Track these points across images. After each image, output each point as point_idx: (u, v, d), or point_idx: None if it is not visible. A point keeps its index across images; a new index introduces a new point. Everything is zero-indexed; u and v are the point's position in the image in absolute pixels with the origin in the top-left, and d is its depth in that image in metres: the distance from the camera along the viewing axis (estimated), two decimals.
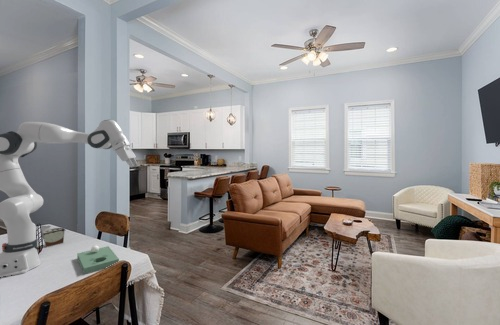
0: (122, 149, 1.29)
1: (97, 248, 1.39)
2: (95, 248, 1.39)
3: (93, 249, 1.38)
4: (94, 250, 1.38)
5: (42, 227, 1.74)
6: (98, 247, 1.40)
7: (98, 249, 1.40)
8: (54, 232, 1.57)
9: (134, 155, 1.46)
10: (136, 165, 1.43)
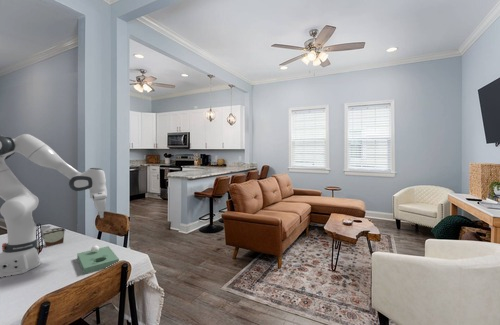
0: (103, 201, 1.38)
1: (97, 248, 1.39)
2: (95, 248, 1.39)
3: (93, 249, 1.38)
4: (94, 250, 1.38)
5: (42, 227, 1.74)
6: (98, 247, 1.40)
7: (98, 249, 1.40)
8: (54, 232, 1.57)
9: None
10: None
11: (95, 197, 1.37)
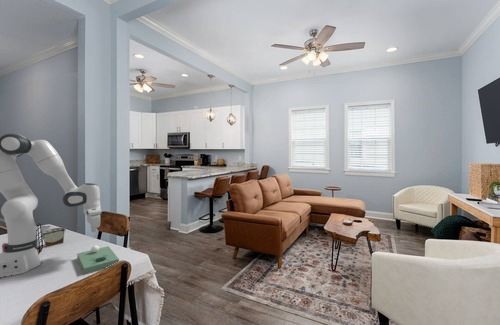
0: (98, 217, 1.39)
1: (97, 248, 1.39)
2: (95, 248, 1.39)
3: (93, 249, 1.38)
4: (94, 250, 1.38)
5: (42, 227, 1.74)
6: (98, 247, 1.40)
7: (98, 249, 1.40)
8: (54, 232, 1.57)
9: None
10: None
11: (90, 213, 1.37)
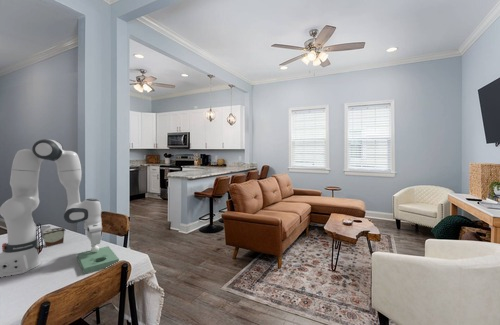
0: (99, 234, 1.38)
1: (97, 248, 1.39)
2: (95, 248, 1.39)
3: (93, 249, 1.38)
4: (94, 250, 1.38)
5: (42, 227, 1.74)
6: (98, 247, 1.40)
7: (98, 249, 1.40)
8: (54, 232, 1.57)
9: None
10: None
11: (90, 230, 1.36)
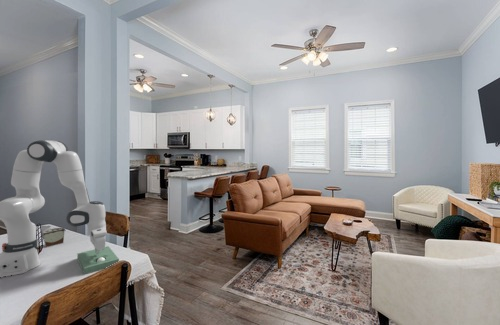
0: (103, 239, 1.30)
1: None
2: None
3: None
4: None
5: (42, 227, 1.74)
6: None
7: None
8: (54, 232, 1.57)
9: None
10: None
11: (94, 235, 1.28)
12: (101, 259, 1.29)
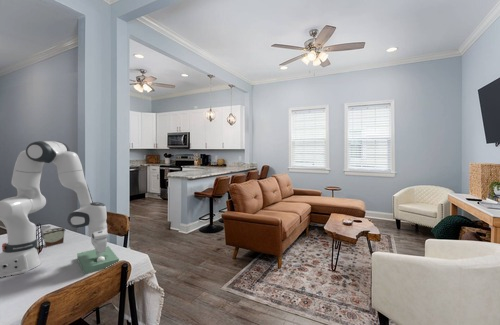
0: (104, 241, 1.27)
1: (103, 260, 1.31)
2: (101, 260, 1.30)
3: (99, 261, 1.30)
4: None
5: (42, 227, 1.74)
6: (104, 259, 1.32)
7: None
8: (54, 232, 1.57)
9: None
10: None
11: (95, 237, 1.25)
12: (101, 256, 1.32)
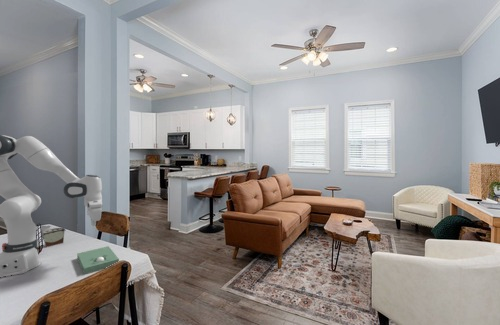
0: (99, 210, 1.34)
1: None
2: (100, 261, 1.29)
3: None
4: None
5: (42, 227, 1.74)
6: (103, 259, 1.31)
7: None
8: (54, 232, 1.57)
9: None
10: None
11: (90, 205, 1.32)
12: (99, 257, 1.30)
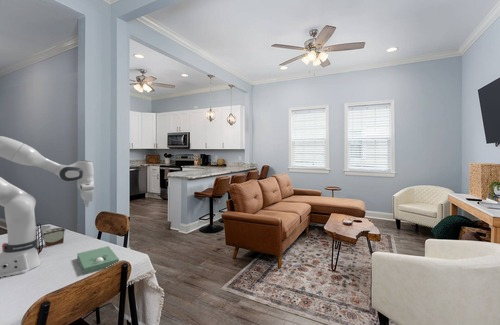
0: (91, 192, 1.47)
1: None
2: None
3: None
4: None
5: (42, 227, 1.74)
6: (102, 260, 1.30)
7: None
8: (54, 232, 1.57)
9: None
10: None
11: (83, 187, 1.44)
12: (98, 259, 1.29)
